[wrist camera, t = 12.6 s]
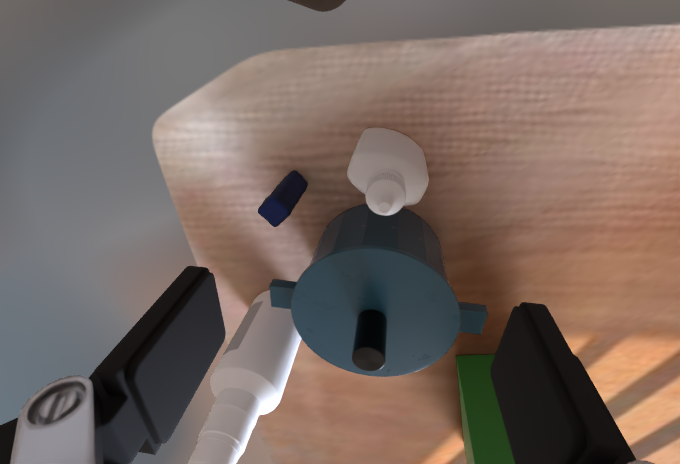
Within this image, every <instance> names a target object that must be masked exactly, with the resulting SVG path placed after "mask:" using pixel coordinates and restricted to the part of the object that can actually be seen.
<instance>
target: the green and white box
mask: <svg viewBox="0 0 680 464" xmlns="http://www.w3.org/2000/svg"><path fill="white" fill-rule="evenodd" d="M494 357H495V354H491V355H458V356H456V363H457V374H458V385H459V396H460V406H461V417H462V428H463V439H464V447H465V454H466V460H467V464H515V461H514V458H513V454H512V451H511V447H510V444H509V440H508V436H507V433H506V429H505V426H504V422H503V419H502V415H501V411H500V408H499V404H498V401H497V397H496V394H495V390H494V386H493V383H492V379H491V373H490V372H491V365H492V362H493V359H494Z"/></svg>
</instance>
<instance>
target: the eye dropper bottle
mask: <svg viewBox="0 0 680 464" xmlns="http://www.w3.org/2000/svg"><path fill="white" fill-rule="evenodd" d="M347 177H348V179H349V180H350V182H351V183H352V184H353V185H354V186H355V187H356V188H357V189H358V190H360V191H361V192H362V193H364V194H365V195H366V196H365V197H366V198H365V199H366V203H367V205H368V206H369V208H370V209H371V210H372V211H373V212H374V213H376V214H378V215H379V214H380V215H384V216H385V215H386V216H387V215H388V216H389V215H393V214H395V213H396V212H398V211H399V210H401V208H402V207H403V206H409V205H414V204H417V203H418V202H419V201H420V200H421V198H422V197H423V195H424V193H425V191H426V189H427V187H428V182H429V177H428V171H427V166H426V161H425V156H424V153H423V150H422V149H421V148H420V146H419V145H418V144H416V143H415V142H414V141H413V140H412V139H410V138H409V137H407V136H405V135H404V134H402V133H399V132H397V131H394V130H390V129H385V128H367V129H365V130H364V131H363V132H362V134H361V136H360V139H359V141H358V144H357V146H356V148H355V151H354V153H353V156H352V159H351V161H350V164H349V167H348V170H347Z"/></svg>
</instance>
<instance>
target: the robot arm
mask: <svg viewBox="0 0 680 464" xmlns="http://www.w3.org/2000/svg"><path fill="white" fill-rule="evenodd" d="M224 339H225V327H224V322H223V317H222V312H221V307H220V303H219V298H218V293H217V288H216V283H215V278H214V275H213V273H210V272H209V270H208V268H205V267H196V266H188V267H187V268H185V269H184V271H183V272H182V273H181V274H180V275H179V276H178V277H177V278H176V280H175V281H174V282H173V283H172V284H171V285H170V286H169V287H168V289H167V290H166V291H165V292H164V293H163V294H162V295H161V297H160V298H159V299H158V300H157V301H156V302H155V303H154V304H153V305H152V306H151V308H150V309H149V310H148V311H147V312H146V313H145V314H144V315H143V317H142V318H141V319H140V320H139V321H138V322H137V323H136V324H135V326H134V327H133V328H132V329H131V330H130V331H129V332H128V333H127V335H126V336H125V337H124V338H123V339H122V340H121V341H120V343H118V345H117V346H116V347H115V348H114V349H113V350H112V351H111V352H110V354H109V355H108V356H107V357H106V358H105V359H104V360H103V362H102V363H101V364H100V365H99V366H98V367H97V368H96V369H95V371H94V372H93V373H92V375H91V376H90V377H89V378H87V377H84V376H80V375H79V376H78V375H77V376H68V377H64V378H61V379H58V380H56V381H54V382H52V383H49V384H48V385H46V386H45V387H43V388H41V389H40V390H39V391H37V392H36V393H35V394H34V395H33V396H32V397H31V398H30V399H28V401H27V402H26V404H25V405H24V406H23V407H22V410H21V412H20V415H19V417H18V418H16V419H14V420H12V421H9V422H7V423H5V424H3V425H0V464H132V461H133V460H134V458H135V456H136V455H137V453H138V452H142V453H148V454H154V455H155V454H156V453H157V451H158V449H159V447H160V446H161V444H162V443H166V442H167V441H168V440H169V439H170V437H171V435H172V433H173V432H174V430H175V428H176V426H177V425H178V423H179V421H180V419H181V417H182V416H183V413H184V412H185V410H186V408H187V406H188V405H189V403H190V401H191V399H192V398H193V396H194V394H195V392H196V390H197V389H198V387H199V385H200V383H201V381H202V379H203V378H204V376H205V374H206V372H207V371H208V369H209V367H210V365H211V363H212V362H213V360H214V358H215V356H216V354H217V352H218V351H219V349H220V347H221V345H222V343H223V342H224ZM490 373H491V379H492V383H493V386H494V390H495V394H496V397H497V401H498V404H499V408H500V411H501V415H502V419H503V422H504V426H505V429H506V433H507V436H508V440H509V444H510V447H511V451H512V454H513V458H514V461H515V464H654V463H651V462H648V461H640V460H636V458H635V456H634V455H633V453H632V451H631V449H630V448H629V446H628V444H627V442H626V441H625V439H624V437H623V435H622V434H621V432H620V430H619V428H618V426H617V425H616V423H615V421H614V419H613V418H612V416H611V414H610V412H609V411H608V409H607V407H606V405H605V404H604V402H603V400H602V398H601V397H600V395H599V393H598V391H597V389H596V388H595V386H594V384H593V382H592V381H591V379H590V377H589V375H588V374H587V372H586V370H585V368H584V367H583V365H582V363H581V362H580V360H579V359H578V357H576V356H575V355H573V353H572V352H571V350H570V348H569V346H568V344H567V343H566V341H565V339H564V337H563V335H562V334H561V332H560V330H559V328H558V326H557V325H556V323H555V321H554V319H553V317H552V316H551V314H550V312H549V310H548V308H547V307H546V306H545V305H543V304H535V303H526V302H522V303H521V304H520V306H519V307H517V306H515V307H514V308H513V310H512V312H511V315H510V318H509V320H508V323H507V325H506V328H505V331H504V333H503V336H502V339H501V341H500V344H499V346H498V349H497V352H496V354H495V357H494V359H493V362H492V365H491V372H490Z"/></svg>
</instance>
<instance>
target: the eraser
mask: <svg viewBox="0 0 680 464" xmlns="http://www.w3.org/2000/svg"><path fill="white" fill-rule="evenodd" d="M307 185H308V183H307V181H306V180H305V179H304V178H303V177H302V176H301V175H300V174H299V173H298V172H297V171H295V170H293V171H291V172H290V173H289V174H288V175H287V176H286V177H285V178H284V179H283V180H282V181H281V182H280V184H279V185H278V186H277V187H276V188H275V189H274V191H273V192H272V193H271V195H270V196H268V197H267V198H266V199H265V201H264V202H263V204H262V205H261V206H260V207H259V209H258V213H259V214H260V215H261V216H262V217H264V218H265V219H266V220H267V221H268V222H269V223H270V224H271V225H272V226H274V227H277V226H278V225H279V224H280V223H281V222H283V221H284V220H285V219H286V218H287V217H288V216H289V215H290V214H291V212H292V210H293V209H294V207H295V205H296V204H297V203H298V201H299V199H300V198H301V196H302V194H303V193H304V192H305V190H306V188H307Z"/></svg>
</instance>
